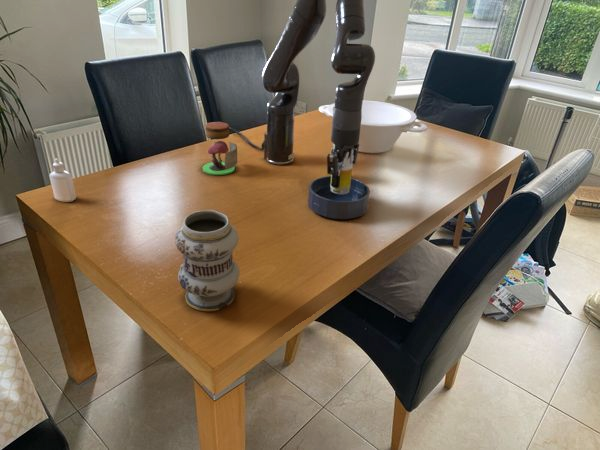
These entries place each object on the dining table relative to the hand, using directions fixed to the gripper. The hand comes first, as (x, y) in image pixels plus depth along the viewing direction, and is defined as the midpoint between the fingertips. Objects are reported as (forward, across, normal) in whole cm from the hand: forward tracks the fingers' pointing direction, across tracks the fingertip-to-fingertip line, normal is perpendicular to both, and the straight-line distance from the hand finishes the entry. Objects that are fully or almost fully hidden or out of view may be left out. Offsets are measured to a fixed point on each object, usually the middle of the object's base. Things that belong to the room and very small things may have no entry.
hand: (340, 183), depth 126 cm
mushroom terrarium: (+8, +2, -44) cm, 45 cm away
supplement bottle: (+3, 0, 0) cm, 3 cm away
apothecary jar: (+8, +52, -1) cm, 52 cm away
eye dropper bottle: (+7, +45, -62) cm, 77 cm away
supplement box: (+8, -18, -10) cm, 22 cm away
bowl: (+7, 0, 0) cm, 7 cm away
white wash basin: (+8, -53, -17) cm, 56 cm away
